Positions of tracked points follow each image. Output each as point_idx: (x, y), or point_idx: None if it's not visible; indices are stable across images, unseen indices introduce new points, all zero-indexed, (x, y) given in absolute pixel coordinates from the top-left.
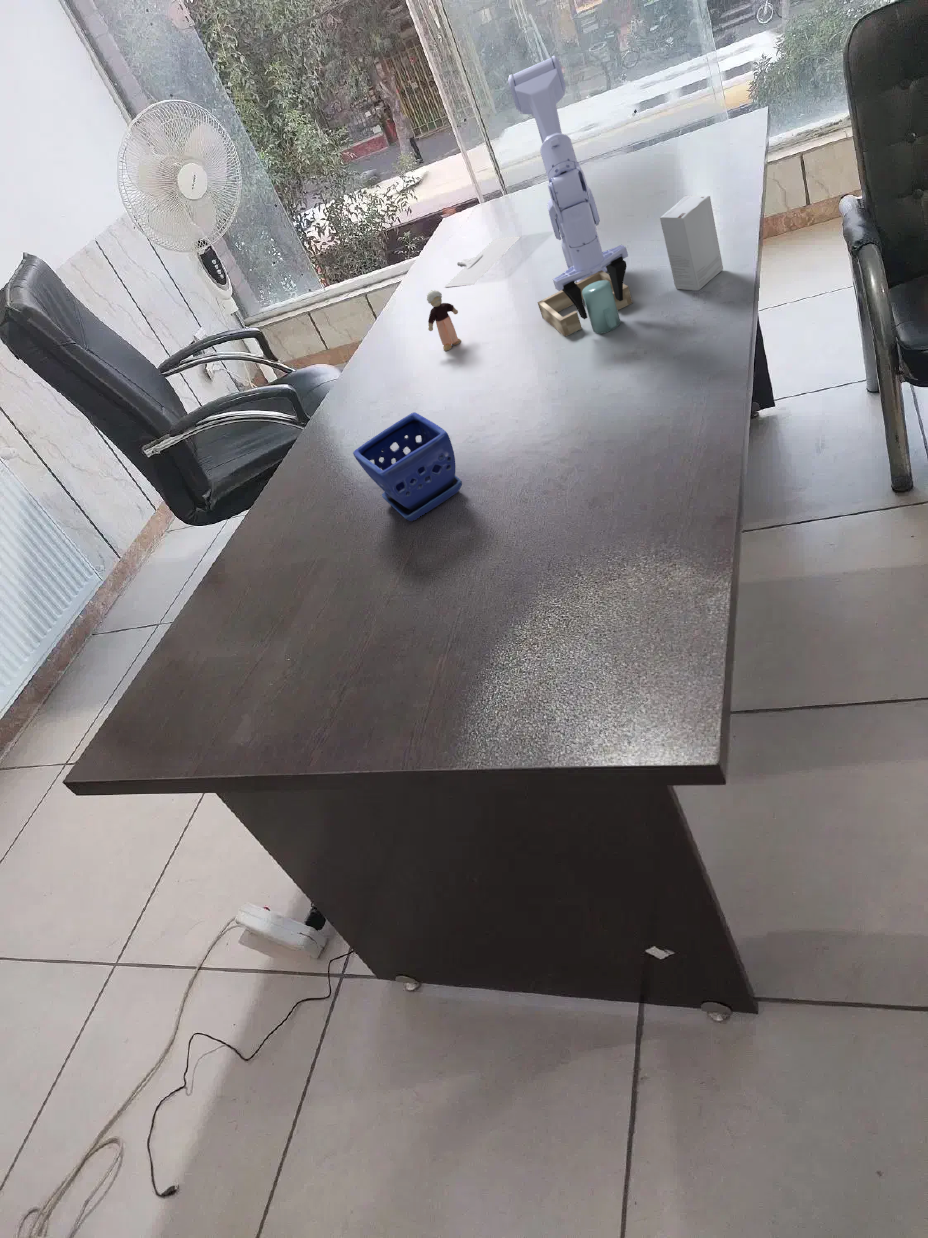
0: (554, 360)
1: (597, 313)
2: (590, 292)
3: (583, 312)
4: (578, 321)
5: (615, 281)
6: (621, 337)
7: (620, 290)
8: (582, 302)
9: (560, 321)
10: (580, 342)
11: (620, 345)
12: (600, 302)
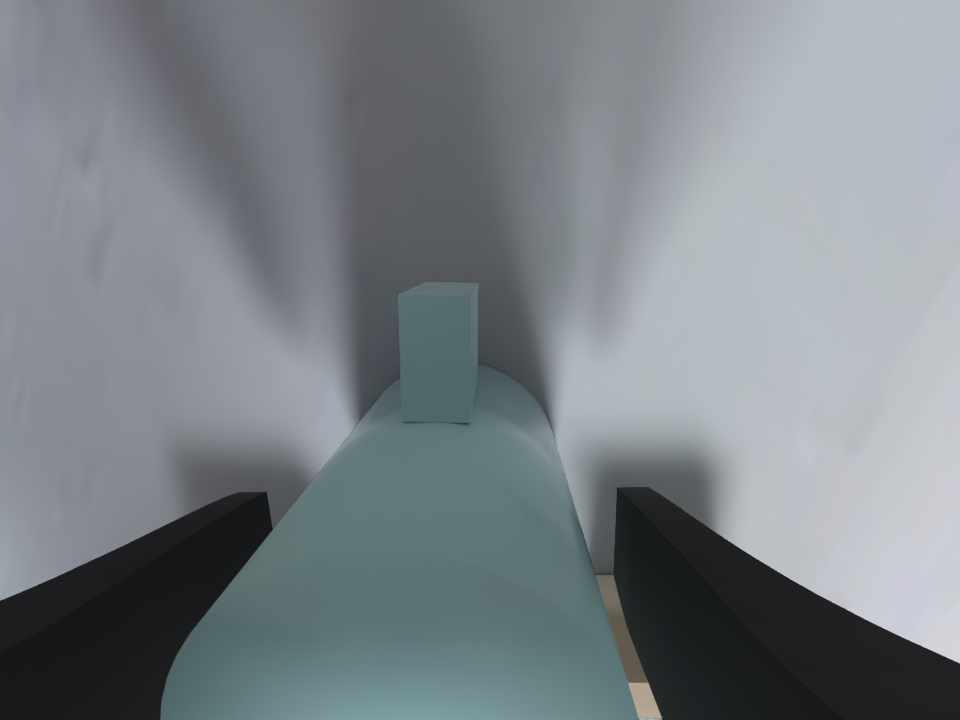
0: (949, 324)
1: (527, 443)
2: (533, 699)
3: (677, 512)
4: (611, 615)
5: (96, 677)
6: (449, 175)
7: (166, 536)
8: (722, 585)
9: None
10: (687, 402)
11: (506, 44)
12: (465, 469)
